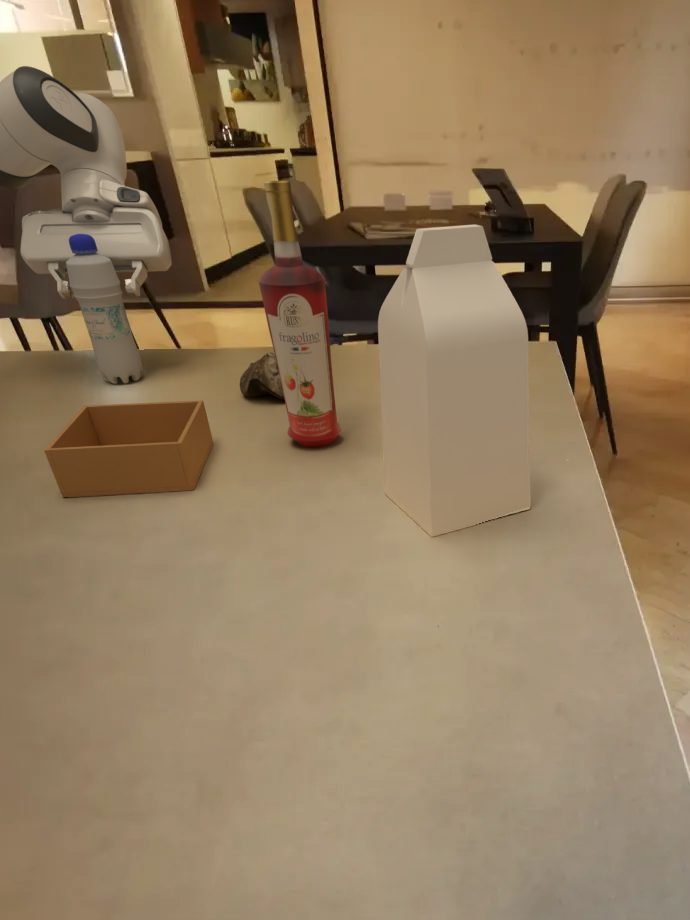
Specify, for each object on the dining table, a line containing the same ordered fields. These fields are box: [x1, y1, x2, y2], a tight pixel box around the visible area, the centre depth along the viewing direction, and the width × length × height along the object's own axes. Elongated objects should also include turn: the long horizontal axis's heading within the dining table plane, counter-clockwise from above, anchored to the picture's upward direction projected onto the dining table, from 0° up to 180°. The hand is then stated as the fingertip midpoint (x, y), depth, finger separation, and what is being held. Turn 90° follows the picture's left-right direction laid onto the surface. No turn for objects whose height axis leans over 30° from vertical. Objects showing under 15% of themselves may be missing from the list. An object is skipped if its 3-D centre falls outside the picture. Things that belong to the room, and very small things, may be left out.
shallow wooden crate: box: [43, 399, 214, 498], centre depth 82 cm, size 14×14×6 cm
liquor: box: [257, 180, 343, 448], centre depth 82 cm, size 7×7×28 cm
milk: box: [377, 224, 532, 538], centre depth 69 cm, size 12×12×26 cm
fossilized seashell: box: [239, 351, 285, 400], centre depth 103 cm, size 8×7×10 cm
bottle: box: [66, 234, 144, 385], centre depth 104 cm, size 7×7×20 cm
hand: (99, 295), depth 103 cm, fingers open, 8 cm apart
